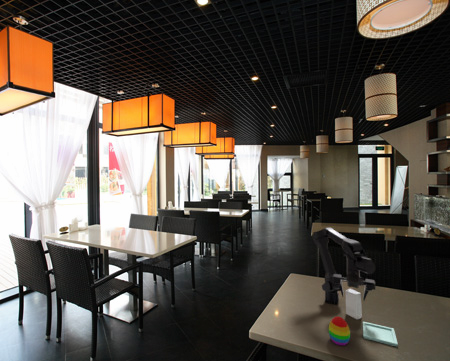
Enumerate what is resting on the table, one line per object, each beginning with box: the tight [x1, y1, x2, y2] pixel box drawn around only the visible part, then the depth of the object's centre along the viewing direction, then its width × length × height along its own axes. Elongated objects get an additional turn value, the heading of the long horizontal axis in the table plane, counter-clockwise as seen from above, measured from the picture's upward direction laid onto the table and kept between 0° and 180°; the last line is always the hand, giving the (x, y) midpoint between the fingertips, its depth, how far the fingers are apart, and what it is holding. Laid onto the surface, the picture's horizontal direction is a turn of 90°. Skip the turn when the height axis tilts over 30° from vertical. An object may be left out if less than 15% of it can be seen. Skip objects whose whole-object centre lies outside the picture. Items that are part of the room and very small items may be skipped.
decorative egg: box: [328, 316, 351, 346], centre depth 103 cm, size 8×8×10 cm
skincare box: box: [344, 288, 363, 320], centre depth 123 cm, size 6×4×12 cm
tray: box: [362, 321, 399, 348], centre depth 108 cm, size 12×12×1 cm
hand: (353, 298), depth 123 cm, fingers open, 9 cm apart
